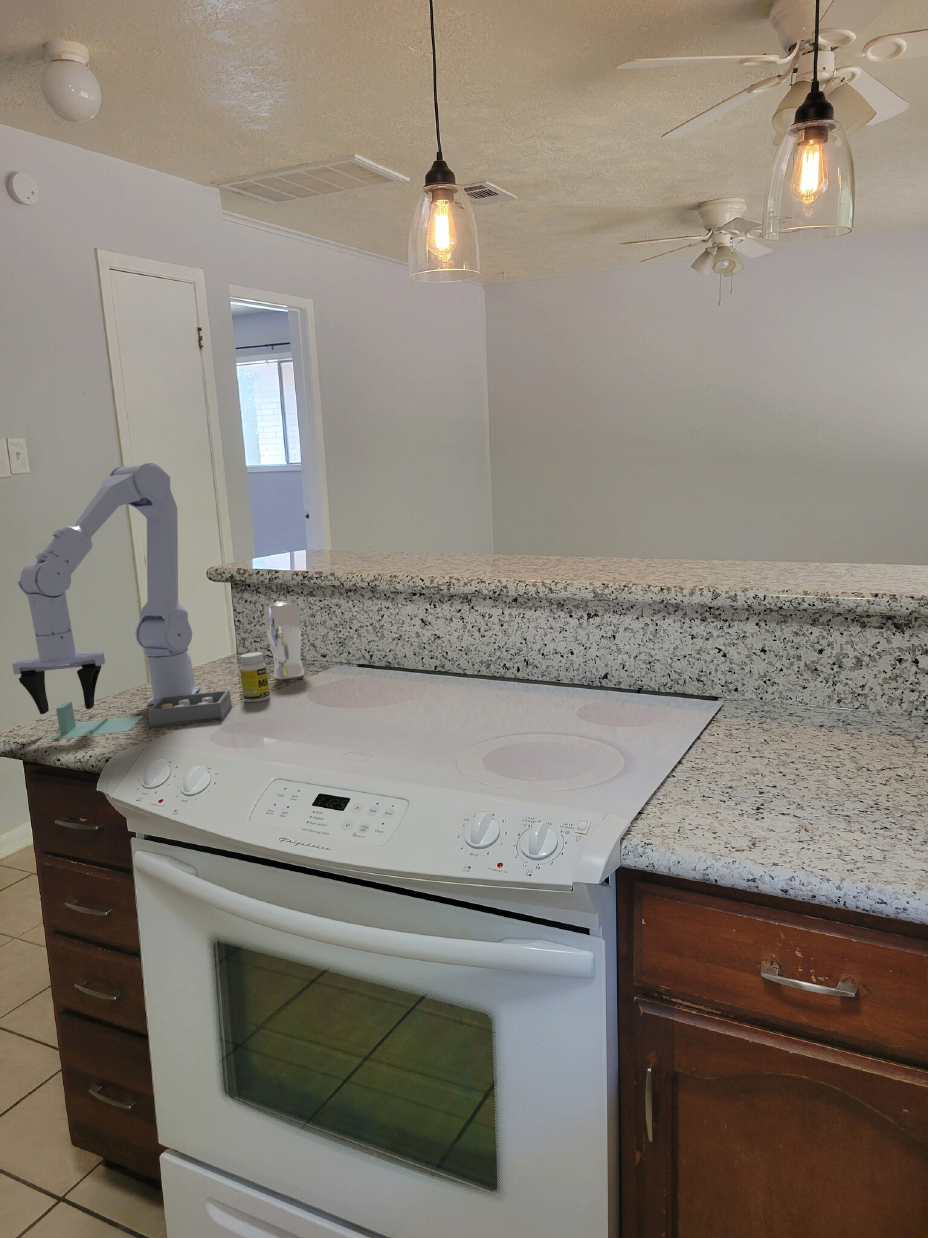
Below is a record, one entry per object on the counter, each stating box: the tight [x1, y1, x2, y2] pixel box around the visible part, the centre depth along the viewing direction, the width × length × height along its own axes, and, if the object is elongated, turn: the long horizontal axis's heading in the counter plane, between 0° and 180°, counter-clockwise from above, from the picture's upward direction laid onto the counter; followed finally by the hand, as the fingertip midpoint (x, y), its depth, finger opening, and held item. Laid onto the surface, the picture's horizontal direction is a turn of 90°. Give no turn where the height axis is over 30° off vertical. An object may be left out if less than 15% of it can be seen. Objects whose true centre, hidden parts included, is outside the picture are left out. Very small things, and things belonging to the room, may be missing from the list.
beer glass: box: [263, 599, 305, 681], centre depth 178 cm, size 7×7×15 cm
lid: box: [50, 701, 145, 740], centre depth 152 cm, size 10×13×5 cm
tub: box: [147, 690, 233, 729], centre depth 153 cm, size 9×12×3 cm
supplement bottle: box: [239, 651, 271, 703], centre depth 161 cm, size 5×5×8 cm
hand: (67, 710), depth 151 cm, fingers open, 7 cm apart
